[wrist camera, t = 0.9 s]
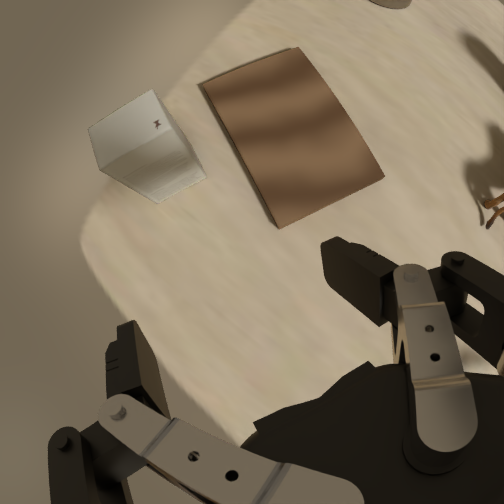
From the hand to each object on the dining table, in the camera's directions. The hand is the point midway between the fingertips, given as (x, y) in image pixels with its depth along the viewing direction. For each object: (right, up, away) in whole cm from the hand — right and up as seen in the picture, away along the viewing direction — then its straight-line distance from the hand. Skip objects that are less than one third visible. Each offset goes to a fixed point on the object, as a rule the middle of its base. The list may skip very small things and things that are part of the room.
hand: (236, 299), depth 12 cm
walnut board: (+5, +15, +19) cm, 24 cm away
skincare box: (-8, +10, +19) cm, 23 cm away
